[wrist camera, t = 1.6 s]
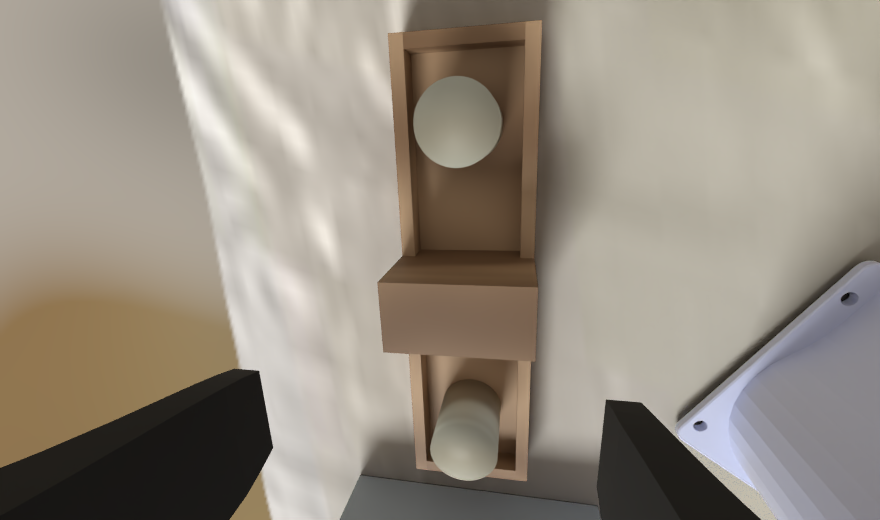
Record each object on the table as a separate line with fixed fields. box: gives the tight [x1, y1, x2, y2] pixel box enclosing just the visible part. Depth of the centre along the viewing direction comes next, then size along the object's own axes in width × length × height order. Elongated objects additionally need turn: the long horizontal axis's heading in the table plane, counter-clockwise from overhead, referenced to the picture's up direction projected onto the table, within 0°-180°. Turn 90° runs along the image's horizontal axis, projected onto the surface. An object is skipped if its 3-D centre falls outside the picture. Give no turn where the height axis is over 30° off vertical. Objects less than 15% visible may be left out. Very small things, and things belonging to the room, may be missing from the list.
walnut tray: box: [378, 20, 542, 481], centre depth 15 cm, size 18×5×5 cm, turn 2°
